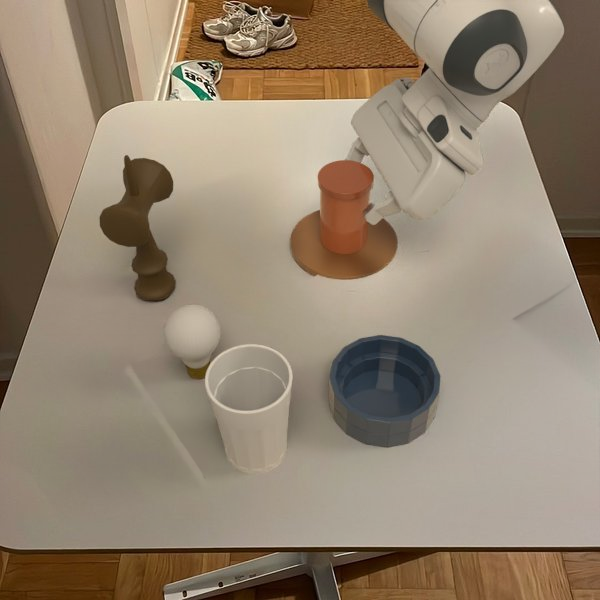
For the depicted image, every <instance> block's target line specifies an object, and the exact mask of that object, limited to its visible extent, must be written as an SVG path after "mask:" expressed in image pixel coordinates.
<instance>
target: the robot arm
mask: <svg viewBox="0 0 600 600" xmlns="http://www.w3.org/2000/svg"><path fill="white" fill-rule="evenodd" d="M366 3H367V5H368V8H369V9H370V11H371V12H372V13H373V14H374V15H375V16H376V17H377V18H378V19H379V20H381V21H382V22H383V23H384V24H385V25H386V26H387V27H389V28H390V30H392V31H394V32H395V33H396V34H397V35H398V36H399V37H400V38H401V39H402V41H403V42H404V43H405V44H406V45H407V46H408V47H409V48H410V49H411V51H412V52H413V53H414V54H415V56H416V57H418V58H419V59H420V60H422V61H423V62H424V63H425V65H426V66H427V67H428V68H427V69H426V70H425V71H424V73H422V74H421V76H419V78H418V79H416V81H414V79H412V78H411V77H408V76H407V77H401V78H396V79H395V80H394V81H393V82H392V83H390V84H386V85H385V86H384V87H382V88H380V89H379V90H378V91H377V92H376V93H374V94H373V95H372V96H371V97H370V98H368V99H367V100H366V101H365V102H364V103H363V104H362V105H361V106H360V107H359V108H358V109H357V110H356V111H355V112H354V113H353V115H352V118H351V121H350V125H351V127H352V128H353V130H354V132H355V133H356V136H357V138H356V139H355V140H354V141H353V142H352V144H351V147H350V148H349V152H348V153H347V156H346V158H345V160H351V161H356V162H360V163H362V162H363V160H364V158H365V156H366V157H369V158H370V159H371V160H372V162H373V164H374V165H375V167H376V169H377V171H378V172H379V174H380V176H381V178H382V179H383V182H384V183H385V184H386V186H387V187H388V190H389V192H388V193H386V195H385V196H384V201H382V202H379V203H377V204H375V203H373V202H371V201H370V204H369V205H368V206H367V208H365V209H364V210H363V215H364V217H365V219H366V221H367V222H369V223H370V224H372V225H375V224H377V223H378V222H379V221H380V220H381V219H382V218H383V219H384V217H388V216H391V215H392V216H393V215H395V214H399V213H401V211H402V212H404V213H405V214H406V215H408V216H409V217H411V218H412V219H413V220H415V221H417V222H420V221H425V220H428V219H430V218H432V217H433V216H434V215H435V214H436V213H438V212H439V211H440V210H441V209H442V208H443V207H444V206H445V205H446V204H448V202H449V201H450V200H451V199H452V198H453V197H454V196H455V195H456V194H457V193H458V192H459V191H460V190H461V188H462V187H463V185H464V183H465V181H466V173H467V174H468V175H469V176H474V175H475V174H477V173H478V172H479V171H480V170H481V169H482V168H483V167H484V163H485V160H484V156H483V151H482V147H481V143H480V137H479V132H478V128H480V127H481V125H483V123H484V122H485V121H487V119H488V117H489V116H490V114H491V112H492V111H493V110H494V108H495V107H496V106H497V105H499V103H501V102H502V101H503V100H505V99H507V98H509V97H511V96H512V95H513V94H515V93H516V92H517V91H518V90H519V88H521V87H522V86H523V85H524V84H525V83H526V82H527V81H528V80H529V79H530V77H532V76H533V74H534V73H536V72H537V71H538V69H539V68H540V67H541V66H542V65H543V64H544V63H545V61H546V60H547V59H548V58H549V57H550V55H551V54H552V52H554V50H555V49H556V47H557V46H558V45H559V43H560V42H561V40H562V38H563V36H564V34H565V26H564V20H563V18H562V15H561V14H560V12H559V10H558V8H556V6H555V4H554V2H553V1H552V0H366Z"/></svg>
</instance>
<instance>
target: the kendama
mask: <svg viewBox="0 0 600 600" xmlns="http://www.w3.org/2000/svg"><path fill="white" fill-rule="evenodd" d="M123 163H124V167H123V169H122V181H123V185H124V189H125V192H124V194H123V196H122V198H121V199H120V201H118V202H117V203H115V204H112V205H110V206H107V207H105V208H103V209H102V210H101V212H100V214H99V218H98V219H99V227H100V229H101V231H102V233H103V235H104V236H105V237H106V238H107V239H108V240H109V241H111V242H112V243H115V244H116V245H118V246H122V247H127V248H135V254H134V256H133V258H132V261H131V265H130V266H131V270H132V272H134V273H135V274H136V275H137V278H136V280H135V281H134V287H133V289H134V290H133V291H134V294H135V296H137V297H138V298H140V299H141V300H144V301H150V302H151V301H160V300H164V299H166V298H167V297H169V296H170V295H171V294H172V293H173V291H174V290H175V287H176V279H175V276H174V274H172V272H170V271H168V269H167V265H168V262H169V258H168V254H167V253H166V252H165V251H164V250H163V249H160V248H159V246H158V244H157V242H156V240H155V237H154V235H153V233H152V230H151V227H150V221H149V220H150V219H149V214H150V211H151V208H152V206H153V205H154V204H155V203H159V202H162V201H165V200H167V199H169V198H170V197H171V195H172V193H173V192H174V179H173V177H172V173H171V172H170V171H169V170H168V168H167V167H166V165H164V164H163V163H161V162H158V161H157V160H155V159H151V158H147V157H138V158H133V159H131V158H130V156H129V155H128V154H125V155H124V156H123Z"/></svg>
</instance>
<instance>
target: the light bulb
mask: <svg viewBox="0 0 600 600" xmlns="http://www.w3.org/2000/svg"><path fill="white" fill-rule="evenodd" d="M163 337H164V342H165V344H166V346H167V348H168V350H169V351H170V352H171V353H172V354H173V355H174V356H176V357H177V358H179V359H181V361H182V362H183V364H184V365H185V368H186V372H187V374H188V376H189V377H191V378H192V379H196V380H199V379H205V375H206V372H207V369H208V367H209V365H210V364H211V358H212V353H214V351H215V350H216V349H217V347H218V345H219V342H220V339H221V326H220V322H219V319H218V318H217V316H216V315H215V314H214V313H213V312H212V311H211V310H210V309H208V308H207V307H205V306H202V305H199V304H192V303H191V304H185V305H182V306H179V307H178V308H176V309H175V310H174V311H172V312H171V313H170V314H169V316H168V317H167V319H166V321H165V323H164V328H163Z"/></svg>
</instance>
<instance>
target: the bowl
mask: <svg viewBox="0 0 600 600" xmlns="http://www.w3.org/2000/svg"><path fill="white" fill-rule="evenodd" d="M441 377H442V376H441V374H440V371H439V369H438V367H437V364H436V362H435V359H434V358H433V357H432V356H430V354H429V353H428V352H426V351H425V350H424V349H423V347H421V346H420V345H418V344H416V343H414V342H411V341H410V340H407V339H405V338H403V337H401V336H394V335H393V336H392V335H385V334H377V335H372V336H365V337H361V338H358V339H356V340H354V341H353V342H351V343H349V344H347V345H345V346H344V347H343V348H341V350H340V351H339V352H338V354H337V355H336V356H335V358H334V359H333V360H332V363H331V367H330V373H329V380H328V381H329V383H328V405H329V408H330V412H331V415H332V418H333V420H334V422H335V423H336V424H337V425H338V427H340V428H341V430H342V431H343V432H344V433H345V434H346V435H347V436H349V437H351V438H353V439H355V440H357V441H358V442H360V443H362V444H364V445H369V446H374V447H375V446H376V447H380V448H381V447H382V448H392V447H398V446H402V445H403V446H404V445H408V444H410V443H412V442H413V441H414V440H416V439H417V438H419V437H421V436H422V435H424V434H425V433H426V432H427V431H428V429H429V427H430V425H431V424H432V423H433V421H434V419H435V418H436V411H437V406H438V401H439V397H440V388H441Z"/></svg>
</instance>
